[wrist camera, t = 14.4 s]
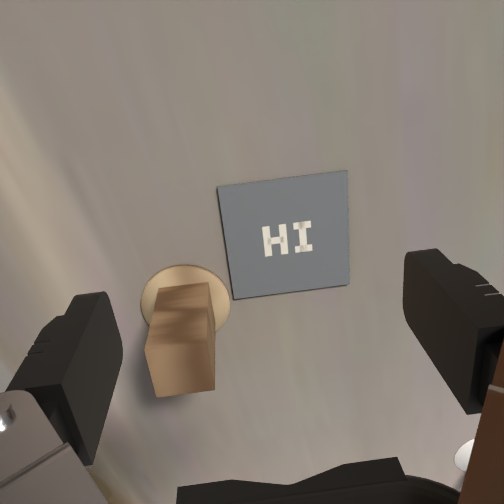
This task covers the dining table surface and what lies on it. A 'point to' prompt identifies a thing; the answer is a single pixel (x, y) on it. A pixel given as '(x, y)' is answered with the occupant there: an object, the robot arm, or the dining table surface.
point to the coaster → (183, 277)
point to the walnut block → (182, 340)
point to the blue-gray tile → (287, 233)
